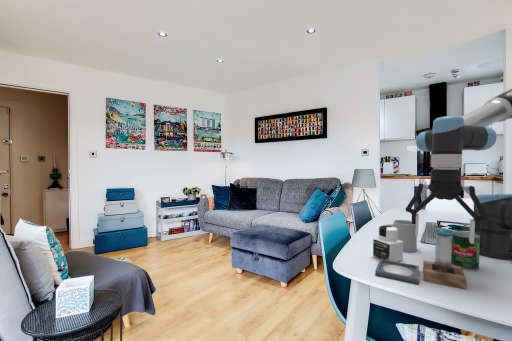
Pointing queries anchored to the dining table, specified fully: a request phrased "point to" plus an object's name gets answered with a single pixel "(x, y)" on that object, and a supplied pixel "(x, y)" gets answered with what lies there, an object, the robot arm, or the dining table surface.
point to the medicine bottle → (388, 244)
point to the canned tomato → (465, 251)
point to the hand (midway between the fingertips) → (442, 238)
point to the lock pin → (443, 249)
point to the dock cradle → (398, 271)
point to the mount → (444, 275)
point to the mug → (406, 234)
